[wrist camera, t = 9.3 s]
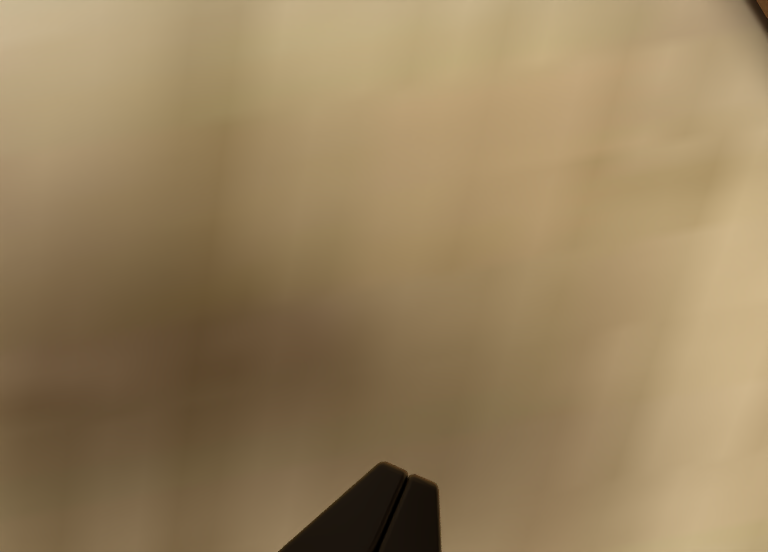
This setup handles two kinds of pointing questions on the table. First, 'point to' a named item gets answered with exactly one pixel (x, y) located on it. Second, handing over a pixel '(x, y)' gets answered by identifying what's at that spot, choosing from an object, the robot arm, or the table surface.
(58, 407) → the table surface
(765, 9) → the slab
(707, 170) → the table surface
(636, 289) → the table surface
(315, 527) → the robot arm
